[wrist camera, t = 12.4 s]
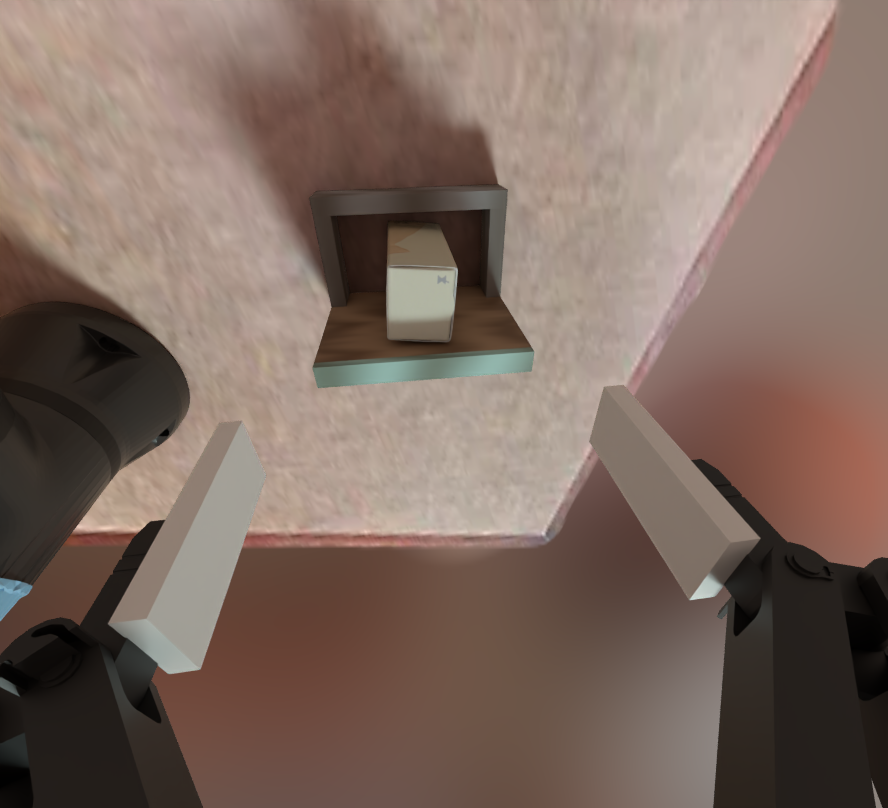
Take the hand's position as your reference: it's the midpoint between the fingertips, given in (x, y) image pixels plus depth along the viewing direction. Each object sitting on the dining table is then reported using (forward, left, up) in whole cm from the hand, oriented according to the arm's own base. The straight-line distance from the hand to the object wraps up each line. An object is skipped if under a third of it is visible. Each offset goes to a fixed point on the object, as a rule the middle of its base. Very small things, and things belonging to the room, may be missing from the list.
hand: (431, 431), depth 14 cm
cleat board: (0, 0, -23) cm, 23 cm away
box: (0, 0, -23) cm, 23 cm away
